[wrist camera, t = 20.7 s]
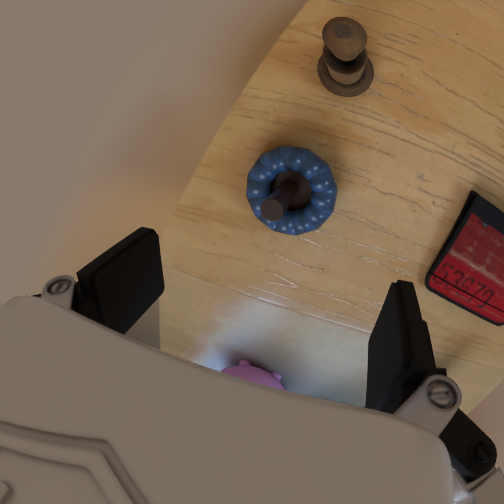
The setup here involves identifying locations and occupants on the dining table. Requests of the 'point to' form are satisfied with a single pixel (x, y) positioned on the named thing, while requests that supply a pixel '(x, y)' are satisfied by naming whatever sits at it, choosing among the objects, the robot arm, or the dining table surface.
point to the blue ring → (306, 166)
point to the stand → (286, 195)
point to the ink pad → (473, 262)
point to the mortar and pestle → (345, 58)
